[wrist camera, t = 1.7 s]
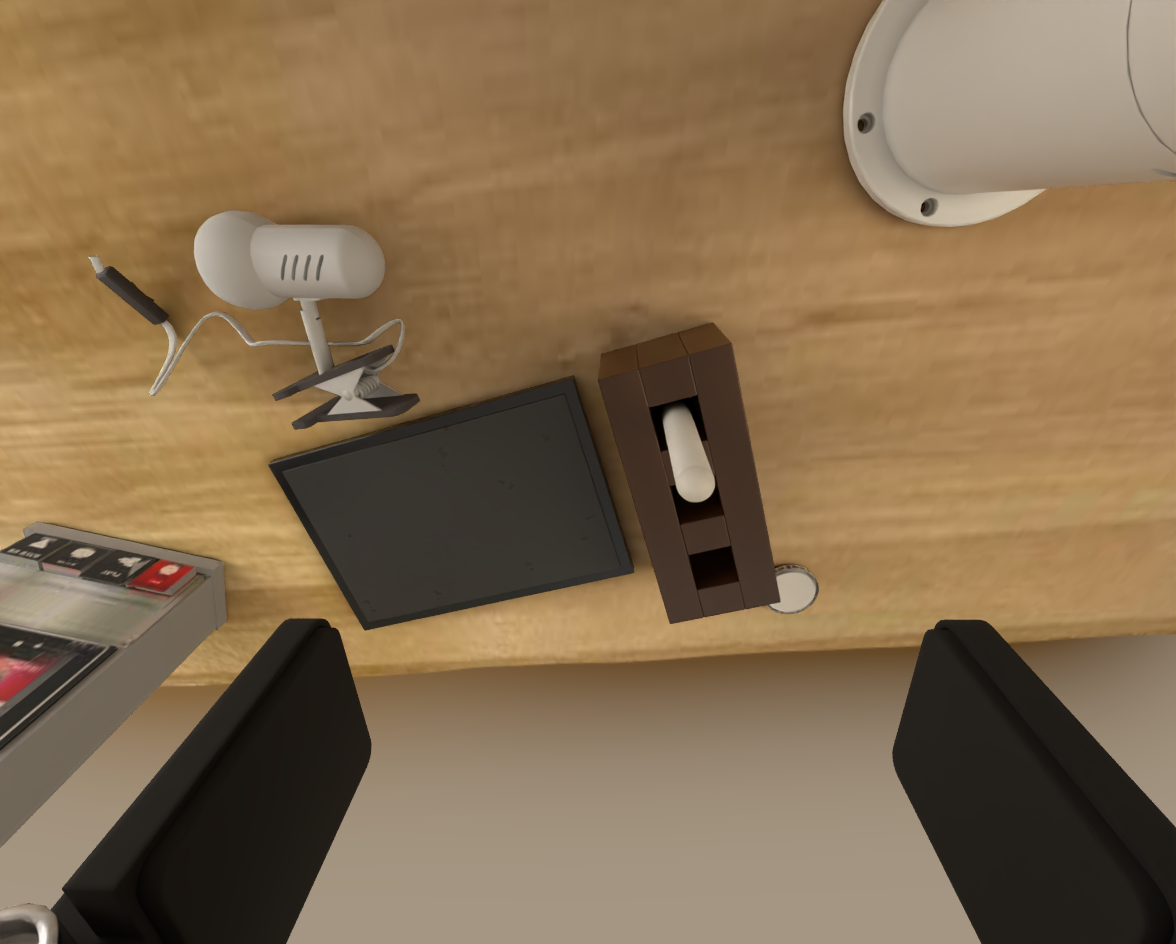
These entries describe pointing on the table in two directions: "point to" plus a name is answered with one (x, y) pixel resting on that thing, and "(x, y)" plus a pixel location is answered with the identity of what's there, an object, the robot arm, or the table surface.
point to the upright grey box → (87, 648)
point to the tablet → (461, 507)
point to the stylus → (686, 452)
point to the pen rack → (669, 522)
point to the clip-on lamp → (270, 277)
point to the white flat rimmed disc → (794, 589)
